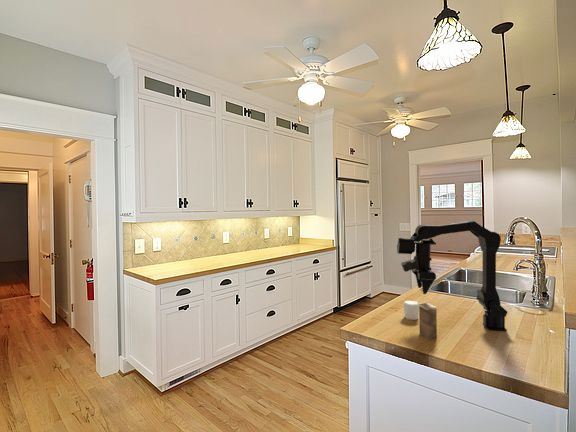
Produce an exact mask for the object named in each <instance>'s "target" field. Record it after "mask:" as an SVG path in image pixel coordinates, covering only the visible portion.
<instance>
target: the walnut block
mask: <svg viewBox="0 0 576 432" xmlns="http://www.w3.org/2000/svg"><path fill="white" fill-rule="evenodd" d="M437 310H438V309H437V306H435V305H433V304H431V303H429V302H426V303H419V312H418V319H419V323H418V324H419V325H418V326H419V335H421V336H423V337H424V338H425V339H427V340H429V339H430V340H431V339H437V338H438V334H437V333H438V332H437V328H438V327H437V325H438V323H437V322H438V320H437V316H438V315H437V312H438V311H437Z"/></svg>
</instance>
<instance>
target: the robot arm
mask: <svg viewBox="0 0 576 432" xmlns="http://www.w3.org/2000/svg"><path fill="white" fill-rule="evenodd" d="M414 230H415V231H414V233H413V234H412V235H411V237H409V238H404V237H398V239H397V244H396V252H397V254H398V255H412V254H413V253H414V252H415V255H414V256H413V259H409V260H406V261H402V262H401V263H400V264H401V267H402V270H403V271H404V272H409V271H411V272H412V273H413V274H414V275H415V279H416V283H417V284H416V285H417V288H419V289H421V288H422V294H423V295H427V293H428V292H429V289H430V288H431V286H432V284H433V283H434V282H435V281H436V280H437V274H436V273H435V272H434V271H433V270H432V267H431V261H433V260H432V257H431V250H432V249H431V246H432V245H437V242H435V241H434V240H433V238H436V237H438V236H441V235H446V234H454V233H462V232H464V233H465V232H470V233H471V234H472V235H473V236H475V237H477V238H478V243H479V247H480V249H481V252H482V286H481V288H480V289H476V295H477V296H476V300H478V303H479V305H481V306H482V308H483V310H484V314H482V316H483V317H482V321H483V322H482V324H483V326H484V327H486V328H487V330H490V331H505V332H506V331H507V330H508V329H507V328H506V327H505V326H506V321H505V320H506V319H505V317H506V316H507V315H508V310H506V309H505V308H504V307H503V306H502V305H501V299H500V295H499V293H498V290H497V252H499V251H498V250H499V249H500V246H501V242H502V241H501V240H502V238H501V235H500V234H499V233H498V232H495V231H491V230H489V229H487V228H486V227H484V226H482V225H480V223H478V222H477V221H474V220H466V221H460V222H454V223H445V224H436V225H435V224H418V225H417V226H416V227H415V229H414Z"/></svg>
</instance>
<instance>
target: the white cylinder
mask: <svg viewBox="0 0 576 432" xmlns="http://www.w3.org/2000/svg"><path fill="white" fill-rule="evenodd" d="M402 304H403V312H404V313H403V314H404V318H405V319H407V320H412V321H413V320H414V321H415V320H418V319H419V304H420V302H419V301H416V300H412V299H411V300H410V299H408V300H407V299H405V300H403V301H402Z"/></svg>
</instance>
